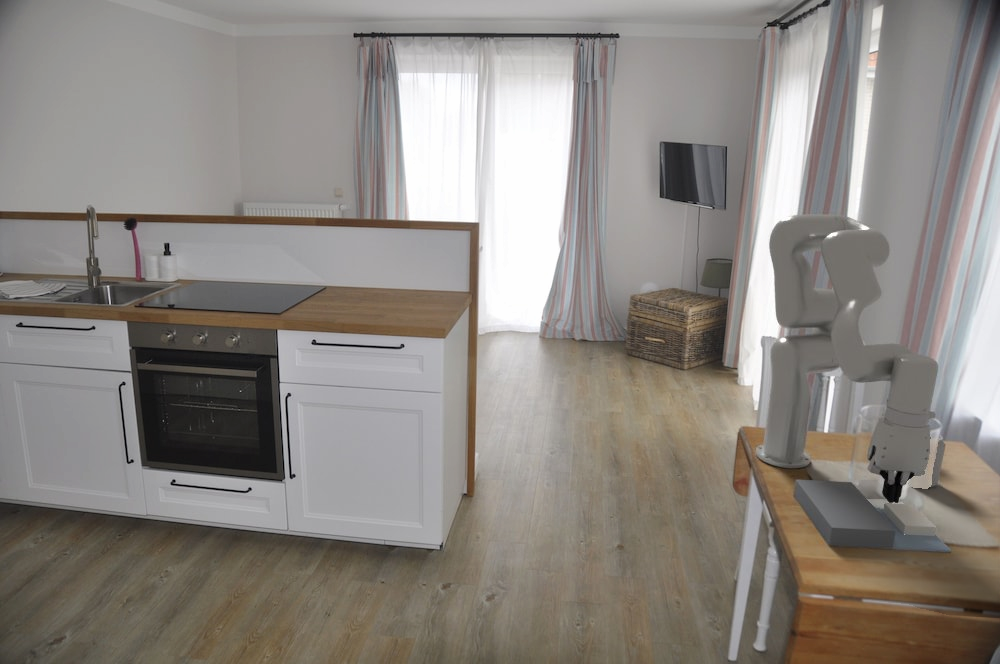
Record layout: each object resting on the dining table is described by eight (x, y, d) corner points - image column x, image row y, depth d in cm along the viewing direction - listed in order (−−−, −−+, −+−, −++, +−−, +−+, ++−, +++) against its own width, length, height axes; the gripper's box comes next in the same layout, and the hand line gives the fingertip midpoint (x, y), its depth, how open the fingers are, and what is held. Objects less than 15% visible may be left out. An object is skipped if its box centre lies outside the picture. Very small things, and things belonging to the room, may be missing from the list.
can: (942, 491, 158) (952, 442, 154) (906, 487, 159) (915, 439, 156) (929, 476, 165) (939, 429, 162) (895, 473, 166) (904, 426, 163)
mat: (848, 498, 153) (849, 497, 153) (900, 501, 153) (900, 499, 153) (892, 549, 134) (892, 547, 134) (951, 552, 133) (951, 550, 133)
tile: (913, 504, 146) (912, 513, 147) (884, 503, 147) (883, 511, 147) (936, 527, 138) (934, 536, 138) (905, 525, 138) (903, 534, 139)
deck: (793, 495, 154) (795, 479, 153) (848, 498, 153) (851, 482, 152) (828, 545, 135) (831, 527, 134) (892, 549, 134) (895, 530, 133)
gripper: (934, 410, 141) (918, 492, 145) (859, 407, 141) (845, 489, 146) (955, 425, 133) (937, 510, 138) (876, 421, 134) (861, 506, 139)
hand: (890, 499), depth 142 cm, fingers closed
